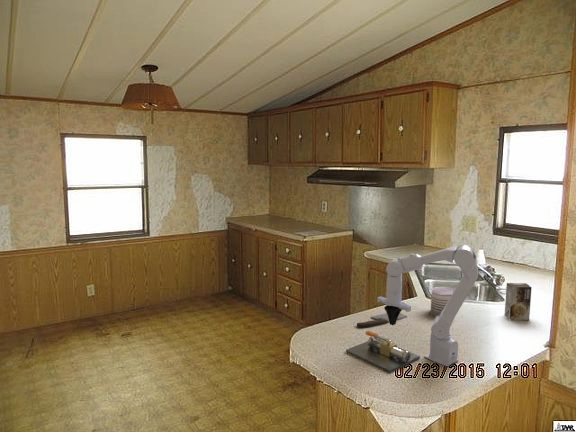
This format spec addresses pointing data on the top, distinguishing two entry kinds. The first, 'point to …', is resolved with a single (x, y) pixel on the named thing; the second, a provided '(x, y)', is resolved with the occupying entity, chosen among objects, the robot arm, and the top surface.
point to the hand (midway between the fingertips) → (392, 324)
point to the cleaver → (378, 320)
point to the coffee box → (518, 301)
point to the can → (440, 299)
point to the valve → (383, 354)
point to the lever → (378, 336)
